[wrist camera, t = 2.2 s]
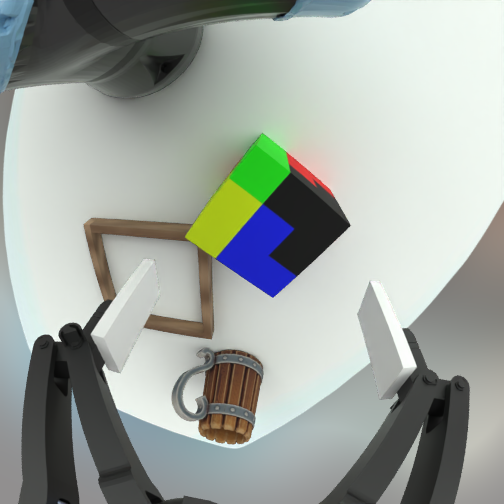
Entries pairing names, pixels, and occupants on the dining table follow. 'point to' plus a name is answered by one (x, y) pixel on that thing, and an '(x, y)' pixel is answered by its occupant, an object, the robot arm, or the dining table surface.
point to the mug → (223, 395)
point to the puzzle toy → (268, 218)
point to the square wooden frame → (161, 232)
